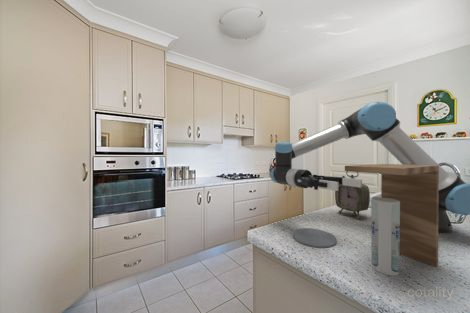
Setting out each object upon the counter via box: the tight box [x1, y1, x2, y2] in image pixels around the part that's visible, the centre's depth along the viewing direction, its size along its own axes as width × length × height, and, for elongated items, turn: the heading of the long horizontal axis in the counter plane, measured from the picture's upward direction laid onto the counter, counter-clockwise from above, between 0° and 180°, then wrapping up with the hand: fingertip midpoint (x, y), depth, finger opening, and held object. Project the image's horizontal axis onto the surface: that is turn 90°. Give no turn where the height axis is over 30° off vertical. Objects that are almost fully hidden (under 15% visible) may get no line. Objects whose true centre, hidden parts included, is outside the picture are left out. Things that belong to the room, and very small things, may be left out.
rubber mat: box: [292, 227, 338, 249], centre depth 77 cm, size 16×16×1 cm
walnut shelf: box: [344, 163, 439, 268], centre depth 58 cm, size 24×14×30 cm, turn 120°
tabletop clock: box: [334, 171, 371, 220], centre depth 105 cm, size 14×9×25 cm, turn 23°
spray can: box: [370, 196, 400, 277], centre depth 56 cm, size 6×6×20 cm
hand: (350, 185), depth 64 cm, fingers open, 13 cm apart
